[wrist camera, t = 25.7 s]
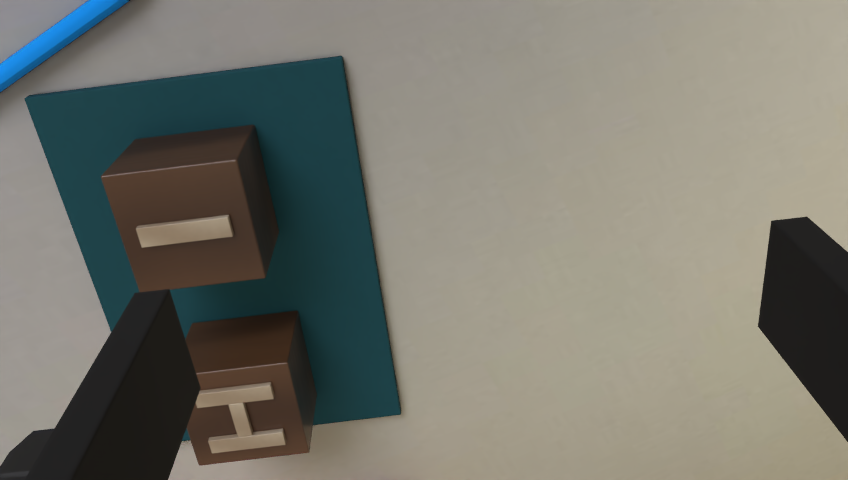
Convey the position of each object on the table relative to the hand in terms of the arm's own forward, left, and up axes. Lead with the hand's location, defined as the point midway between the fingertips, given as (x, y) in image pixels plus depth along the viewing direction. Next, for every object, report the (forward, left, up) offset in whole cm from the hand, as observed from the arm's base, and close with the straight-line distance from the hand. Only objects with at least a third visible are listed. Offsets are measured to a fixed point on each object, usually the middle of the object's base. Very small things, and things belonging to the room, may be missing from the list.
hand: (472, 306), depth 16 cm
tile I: (+3, -11, -18) cm, 22 cm away
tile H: (+13, -11, -18) cm, 25 cm away
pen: (-2, -19, -19) cm, 27 cm away
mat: (+8, -11, -19) cm, 23 cm away
